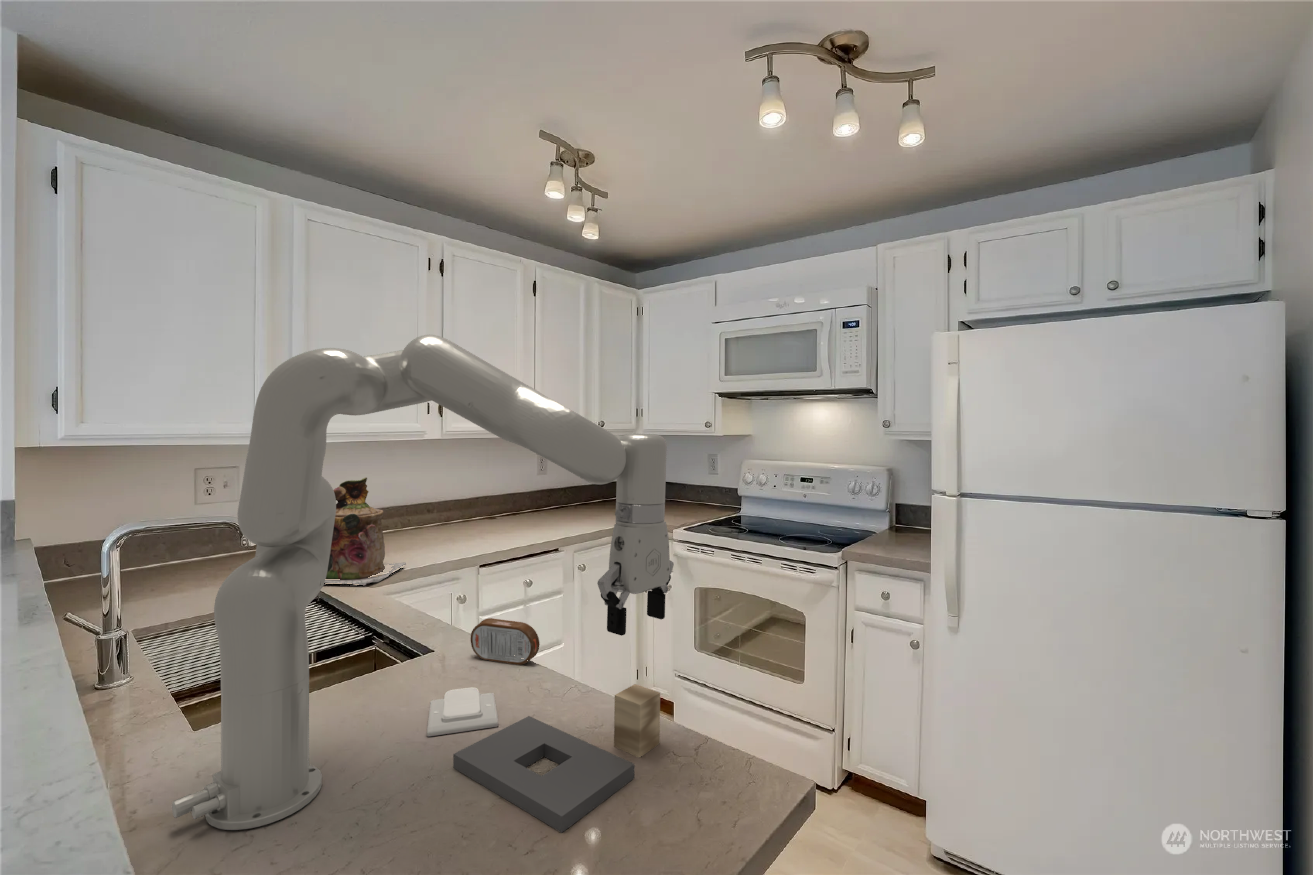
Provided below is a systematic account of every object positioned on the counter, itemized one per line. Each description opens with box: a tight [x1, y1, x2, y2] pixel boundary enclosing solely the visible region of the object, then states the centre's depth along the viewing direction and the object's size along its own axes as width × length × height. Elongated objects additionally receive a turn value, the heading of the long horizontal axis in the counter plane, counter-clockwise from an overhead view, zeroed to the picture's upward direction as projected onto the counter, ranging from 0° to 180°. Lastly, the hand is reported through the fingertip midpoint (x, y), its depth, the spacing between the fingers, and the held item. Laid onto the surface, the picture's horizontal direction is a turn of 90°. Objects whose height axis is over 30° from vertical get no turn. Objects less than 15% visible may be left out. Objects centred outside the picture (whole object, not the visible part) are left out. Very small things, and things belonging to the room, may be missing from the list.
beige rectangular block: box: [613, 683, 661, 759], centre depth 90 cm, size 5×5×8 cm
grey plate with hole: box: [452, 715, 636, 834], centre depth 83 cm, size 14×22×2 cm, turn 53°
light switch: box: [426, 687, 499, 737], centre depth 99 cm, size 11×4×13 cm
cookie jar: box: [324, 477, 407, 587], centre depth 187 cm, size 25×25×32 cm
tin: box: [470, 617, 541, 666], centre depth 122 cm, size 15×3×8 cm, turn 74°
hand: (636, 624), depth 90 cm, fingers open, 9 cm apart
